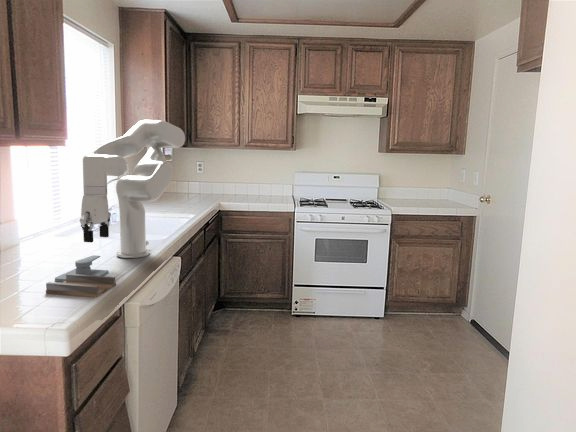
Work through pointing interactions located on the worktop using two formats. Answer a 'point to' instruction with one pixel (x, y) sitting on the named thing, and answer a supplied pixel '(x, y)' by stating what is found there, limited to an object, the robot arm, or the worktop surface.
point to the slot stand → (81, 285)
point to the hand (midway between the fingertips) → (96, 239)
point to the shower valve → (83, 269)
